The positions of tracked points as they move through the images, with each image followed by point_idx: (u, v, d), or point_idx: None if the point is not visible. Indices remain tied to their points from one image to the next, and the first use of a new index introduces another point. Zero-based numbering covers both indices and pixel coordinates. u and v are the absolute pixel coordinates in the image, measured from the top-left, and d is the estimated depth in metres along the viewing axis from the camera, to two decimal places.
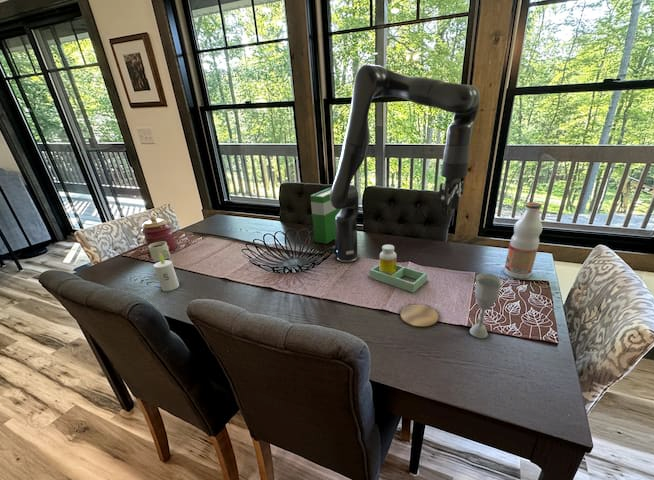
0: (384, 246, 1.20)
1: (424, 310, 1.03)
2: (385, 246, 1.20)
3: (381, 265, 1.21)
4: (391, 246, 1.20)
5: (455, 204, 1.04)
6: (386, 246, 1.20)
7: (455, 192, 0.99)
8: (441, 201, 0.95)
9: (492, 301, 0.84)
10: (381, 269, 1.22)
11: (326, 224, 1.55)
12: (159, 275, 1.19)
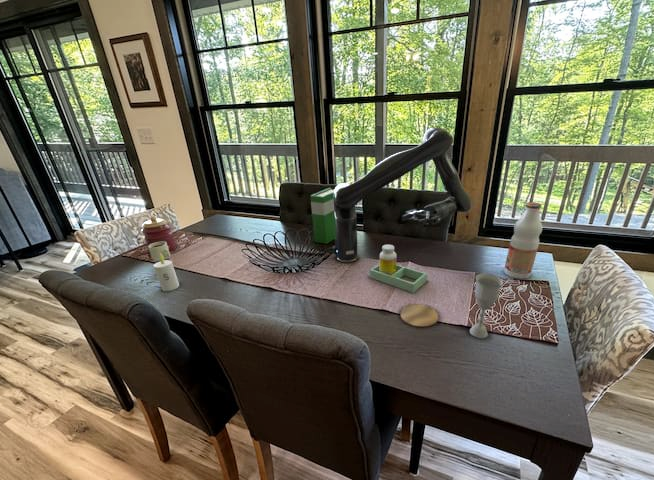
0: (384, 246, 1.20)
1: (424, 310, 1.03)
2: (385, 246, 1.20)
3: (381, 265, 1.21)
4: (391, 246, 1.20)
5: (405, 218, 1.27)
6: (386, 246, 1.20)
7: (419, 219, 1.28)
8: (433, 221, 1.21)
9: (492, 301, 0.84)
10: (381, 269, 1.22)
11: (326, 224, 1.55)
12: (159, 275, 1.19)
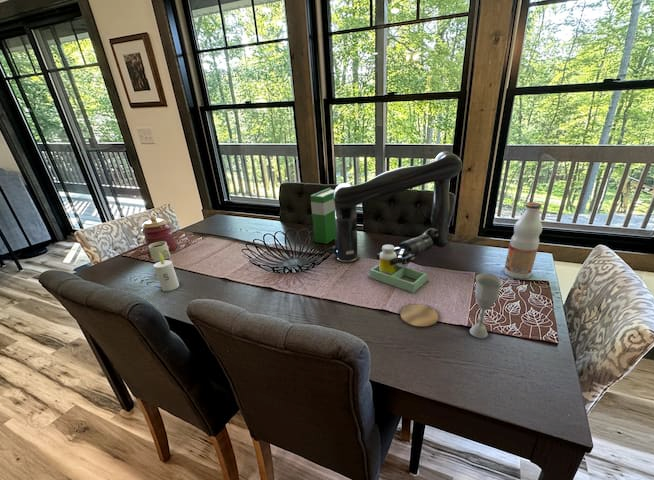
0: (384, 246, 1.20)
1: (424, 310, 1.03)
2: (385, 246, 1.20)
3: (381, 265, 1.21)
4: (391, 246, 1.20)
5: None
6: (386, 246, 1.20)
7: None
8: (405, 261, 1.19)
9: (492, 301, 0.84)
10: (381, 269, 1.22)
11: (326, 224, 1.55)
12: (159, 275, 1.19)
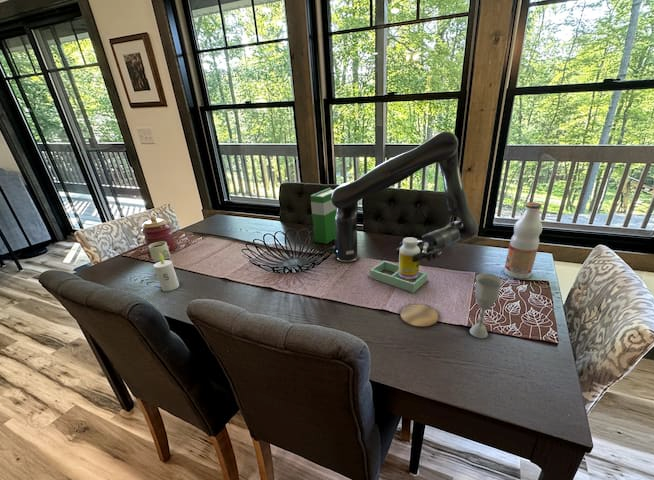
0: (405, 239, 1.00)
1: (424, 310, 1.03)
2: (406, 239, 1.00)
3: (401, 262, 1.01)
4: (414, 239, 1.00)
5: None
6: (408, 239, 1.00)
7: None
8: (430, 256, 0.99)
9: (492, 301, 0.84)
10: (401, 267, 1.02)
11: (326, 224, 1.55)
12: (159, 275, 1.19)
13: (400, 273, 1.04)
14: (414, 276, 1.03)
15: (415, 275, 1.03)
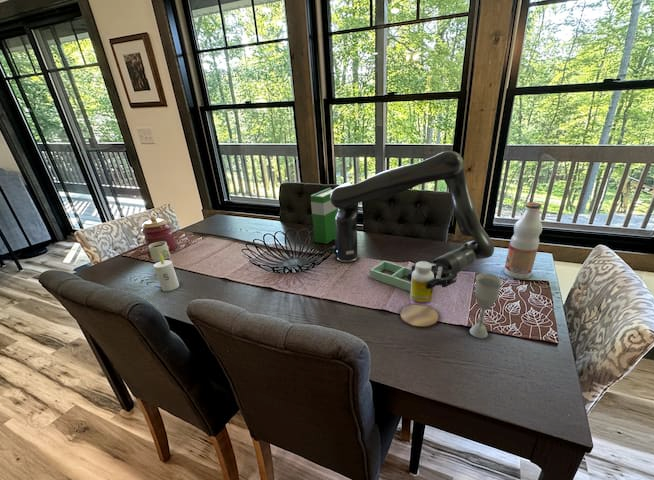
0: (418, 264, 0.93)
1: (424, 310, 1.03)
2: (419, 264, 0.93)
3: (414, 288, 0.94)
4: (427, 264, 0.93)
5: None
6: (421, 264, 0.93)
7: None
8: (445, 283, 0.92)
9: (492, 301, 0.84)
10: (414, 293, 0.95)
11: (326, 224, 1.55)
12: (159, 275, 1.19)
13: (412, 299, 0.97)
14: (427, 303, 0.96)
15: (428, 302, 0.96)
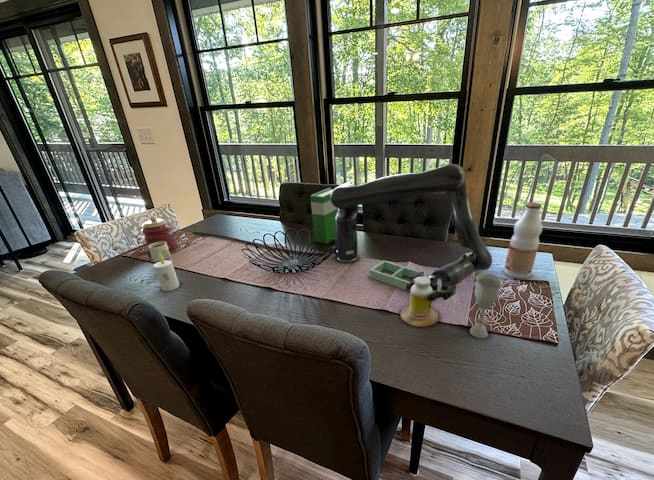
0: (417, 279, 0.96)
1: None
2: (418, 279, 0.96)
3: (413, 302, 0.97)
4: (426, 279, 0.95)
5: None
6: (420, 279, 0.96)
7: None
8: (447, 295, 0.94)
9: (492, 301, 0.84)
10: (413, 307, 0.98)
11: (326, 224, 1.55)
12: (159, 275, 1.19)
13: (411, 313, 0.99)
14: (426, 317, 0.98)
15: (427, 316, 0.98)
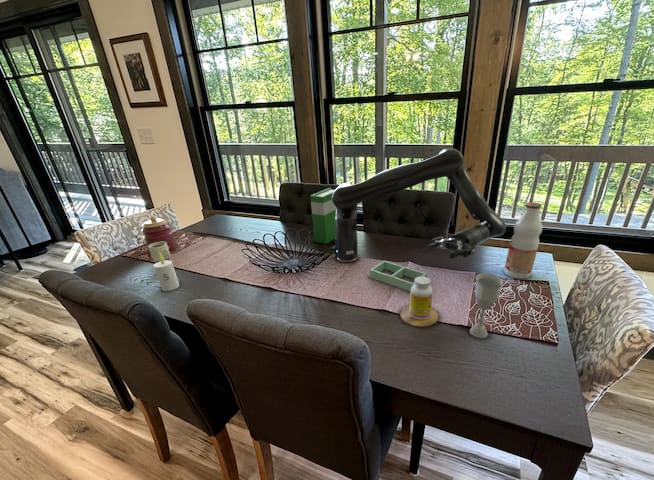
0: (417, 279, 0.96)
1: None
2: (418, 279, 0.96)
3: (413, 302, 0.97)
4: (426, 279, 0.95)
5: (433, 248, 1.09)
6: (420, 279, 0.96)
7: (449, 248, 1.10)
8: (467, 253, 1.03)
9: (492, 301, 0.84)
10: (413, 307, 0.98)
11: (326, 224, 1.55)
12: (159, 275, 1.19)
13: (411, 313, 0.99)
14: (426, 317, 0.98)
15: (427, 316, 0.98)
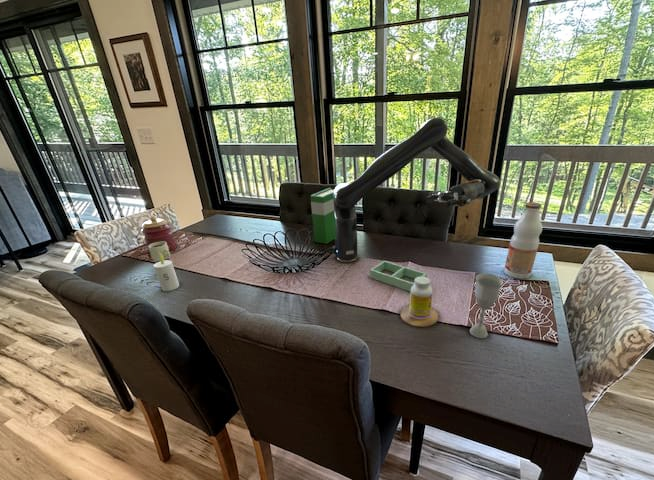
0: (417, 279, 0.96)
1: None
2: (418, 279, 0.96)
3: (413, 302, 0.97)
4: (426, 279, 0.95)
5: (430, 200, 1.14)
6: (420, 279, 0.96)
7: (445, 201, 1.15)
8: (462, 202, 1.08)
9: (492, 301, 0.84)
10: (413, 307, 0.98)
11: (326, 224, 1.55)
12: (159, 275, 1.19)
13: (411, 313, 0.99)
14: (426, 317, 0.98)
15: (427, 316, 0.98)
